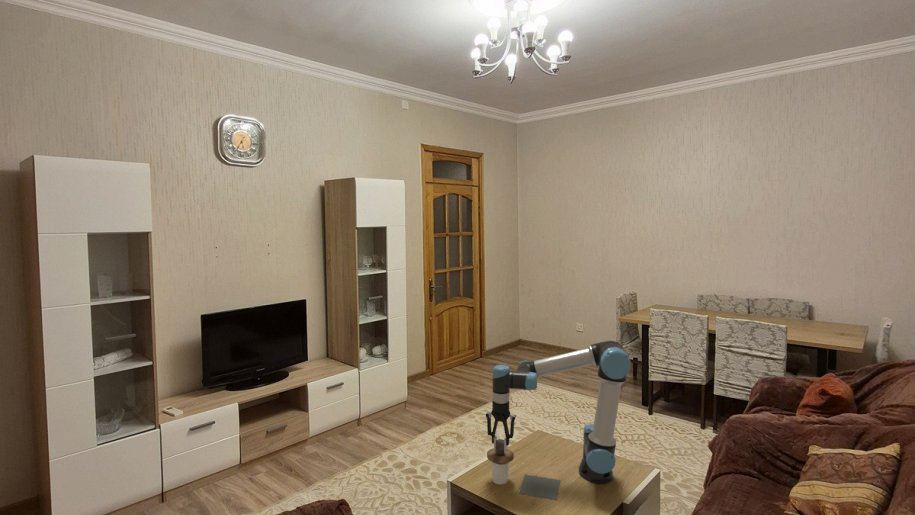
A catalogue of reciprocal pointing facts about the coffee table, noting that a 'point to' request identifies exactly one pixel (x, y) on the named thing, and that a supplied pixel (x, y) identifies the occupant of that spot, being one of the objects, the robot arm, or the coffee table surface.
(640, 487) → the coffee table surface
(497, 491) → the coffee table surface
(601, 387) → the robot arm
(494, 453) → the lid
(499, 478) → the white cup
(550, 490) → the mat
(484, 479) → the coffee table surface
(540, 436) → the coffee table surface
